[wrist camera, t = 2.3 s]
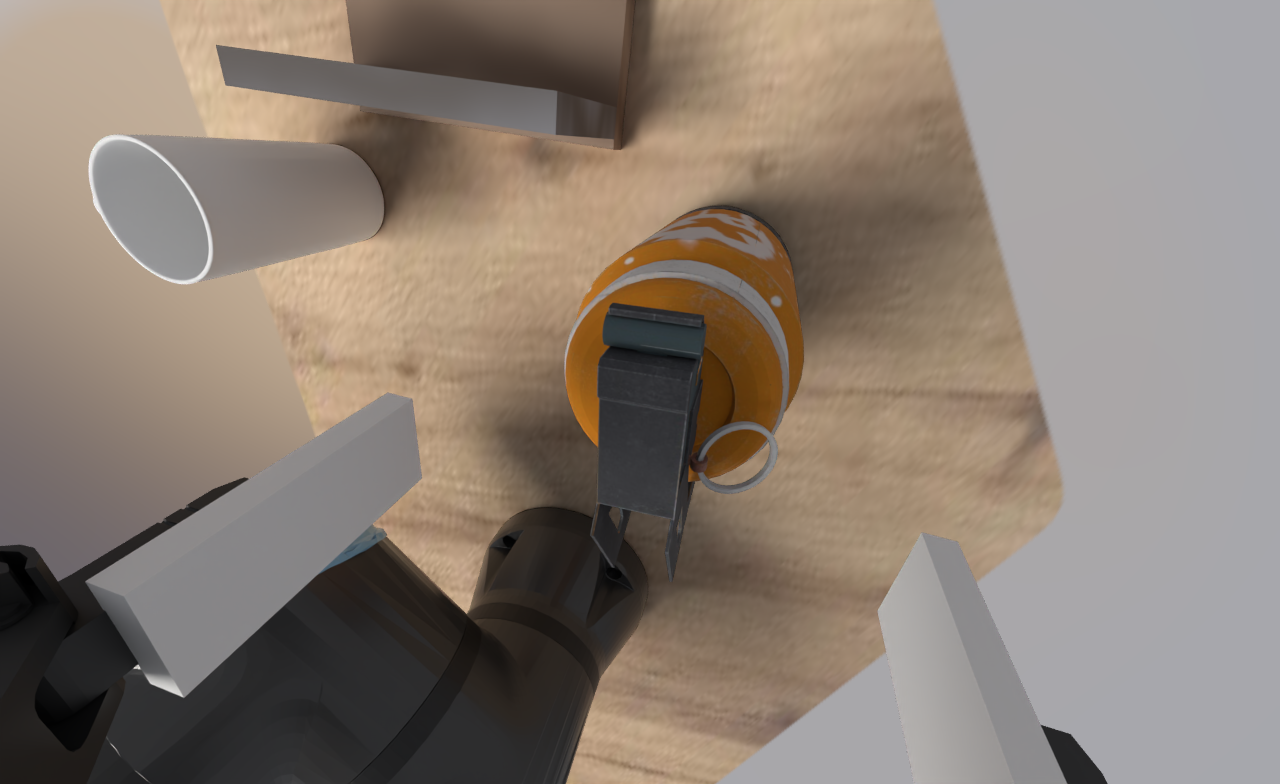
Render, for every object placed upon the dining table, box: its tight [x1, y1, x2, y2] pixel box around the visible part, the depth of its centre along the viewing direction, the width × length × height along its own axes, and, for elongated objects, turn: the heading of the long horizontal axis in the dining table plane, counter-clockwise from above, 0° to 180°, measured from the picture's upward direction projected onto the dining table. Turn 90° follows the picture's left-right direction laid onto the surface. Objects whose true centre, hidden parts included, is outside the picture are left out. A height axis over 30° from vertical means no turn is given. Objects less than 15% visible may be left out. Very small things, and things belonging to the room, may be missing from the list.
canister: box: [564, 206, 804, 582], centre depth 21 cm, size 9×11×20 cm
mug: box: [89, 134, 384, 284], centre depth 28 cm, size 10×7×12 cm, turn 88°
